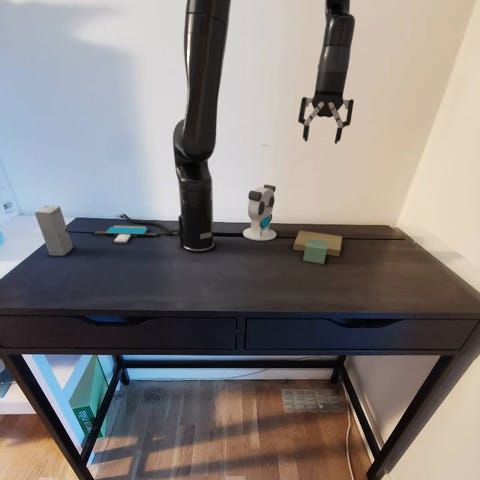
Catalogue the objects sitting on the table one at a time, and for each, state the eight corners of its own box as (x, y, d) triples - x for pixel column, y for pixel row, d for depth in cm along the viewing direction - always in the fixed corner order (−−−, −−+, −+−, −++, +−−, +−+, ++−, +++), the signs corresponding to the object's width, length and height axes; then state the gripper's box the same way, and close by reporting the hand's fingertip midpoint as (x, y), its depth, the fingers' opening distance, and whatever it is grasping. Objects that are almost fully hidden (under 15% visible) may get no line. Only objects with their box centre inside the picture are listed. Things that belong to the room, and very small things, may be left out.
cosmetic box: (65, 256, 88) (51, 212, 80) (48, 255, 87) (33, 212, 80) (73, 247, 93) (61, 205, 85) (58, 247, 92) (44, 205, 85)
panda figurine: (265, 244, 100) (270, 195, 91) (235, 236, 104) (237, 188, 95) (281, 233, 108) (287, 187, 99) (253, 225, 113) (256, 181, 104)
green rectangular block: (303, 260, 91) (305, 246, 88) (307, 248, 98) (309, 234, 96) (323, 264, 90) (326, 249, 87) (326, 251, 97) (329, 237, 94)
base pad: (293, 249, 97) (293, 243, 96) (298, 236, 106) (299, 230, 105) (338, 256, 94) (340, 250, 93) (340, 242, 103) (342, 236, 102)
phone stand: (87, 242, 96) (86, 236, 95) (101, 228, 105) (100, 223, 104) (152, 244, 96) (152, 239, 95) (160, 230, 106) (160, 225, 105)
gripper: (361, 72, 82) (346, 142, 91) (306, 70, 85) (298, 138, 95) (361, 70, 76) (345, 145, 86) (303, 68, 79) (294, 141, 89)
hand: (320, 142), depth 90 cm, fingers open, 8 cm apart
